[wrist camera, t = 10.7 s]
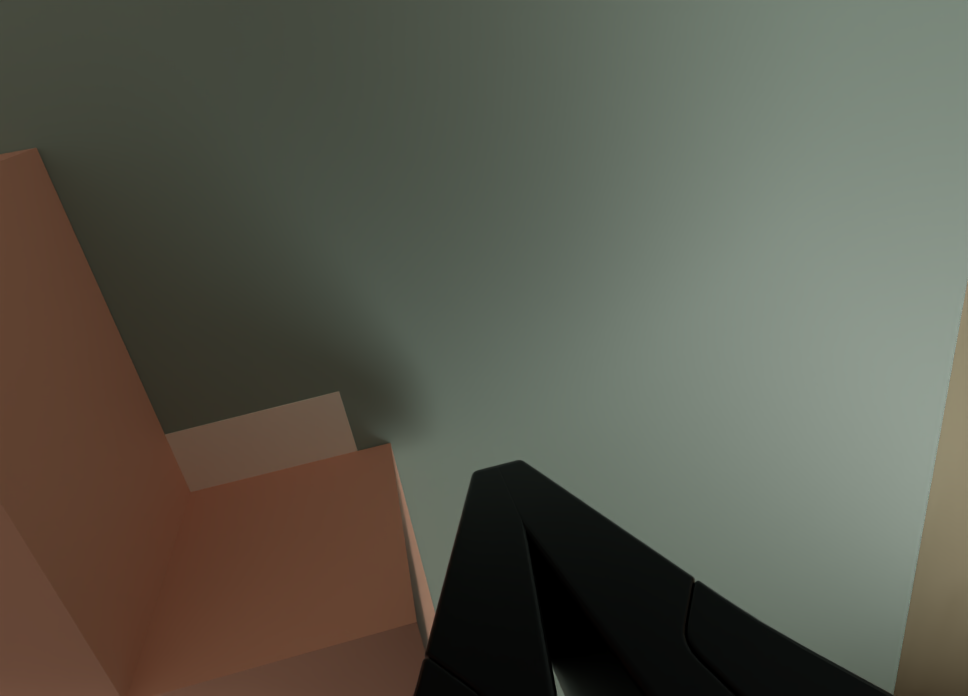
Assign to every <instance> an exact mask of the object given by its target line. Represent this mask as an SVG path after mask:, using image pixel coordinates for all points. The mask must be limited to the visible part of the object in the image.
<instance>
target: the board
mask: <svg viewBox="0 0 968 696" xmlns="http://www.w3.org/2000/svg"><path fill="white" fill-rule="evenodd" d="M32 148H37V150H38V152H39V154H40V156H41V159H42V161H43V163H44V165H45V168H46V170H47V172H48V174H49V177H50V179H51V181H52V183H53V186H54V188H55V190H56V192H57V195H58V197H59V199H60V201H61V203H62V206H63V208H64V210H65V212H66V215H67V217H68V219H69V221H70V224H71V226H72V228H73V230H74V233H75V235H76V237H77V239H78V241H79V244H80V246H81V248H82V250H83V253H84V255H85V257H86V259H87V262H88V264H89V266H90V268H91V271H92V273H93V275H94V277H95V279H96V282H97V284H98V286H99V288H100V291H101V293H102V295H103V297H104V300H105V302H106V304H107V306H108V309H109V311H110V313H111V315H112V317H113V320H114V322H115V324H116V326H117V329H118V331H119V333H120V335H121V338H122V340H123V342H124V344H125V347H126V349H127V351H128V353H129V355H130V358H131V360H132V362H133V364H134V367H135V369H136V371H137V373H138V376H139V378H140V380H141V382H142V385H143V387H144V389H145V391H146V393H147V396H148V398H149V400H150V402H151V405H152V407H153V409H154V411H155V414H156V416H157V418H158V420H159V423H160V425H161V427H162V429H163V432H164V434H165V436H166V438H167V441H168V443H169V445H170V447H171V449H172V452H173V454H174V456H175V458H176V461H177V463H178V465H179V467H180V470H181V472H182V474H183V476H184V479H185V481H186V483H187V485H188V487H189V490H190V492H193V491H197V490H201V489H205V488H209V487H213V486H217V485H222V484H226V483H230V482H234V481H238V480H242V479H246V478H250V477H254V476H258V475H262V474H266V473H270V472H274V471H278V470H282V469H286V468H290V467H294V466H298V465H302V464H307V463H311V462H315V461H319V460H323V459H327V458H331V457H335V456H339V455H343V454H347V453H351V452H355V451H359V450H363V449H367V448H371V447H375V446H379V445H383V444H388V443H391V447H392V450H393V454H394V458H395V462H396V466H397V469H398V473H399V477H400V481H401V485H402V488H403V492H404V496H405V500H406V504H407V507H408V511H409V515H410V519H411V523H412V527H413V530H414V534H415V538H416V542H417V546H418V549H419V553H420V557H421V561H422V565H423V568H424V572H425V576H426V580H427V584H428V587H429V591H430V595H431V599H432V603H433V606H434V610H435V613H436V609H437V605H438V601H439V597H440V594H441V590H442V586H443V582H444V578H445V575H446V571H447V567H448V563H449V560H450V556H451V552H452V548H453V544H454V541H455V537H456V533H457V529H458V525H459V522H460V518H461V514H462V510H463V506H464V503H465V499H466V495H467V491H468V487H469V484H470V480H471V476H472V474H473V472H474V471H476V470H480V469H484V468H488V467H492V466H496V465H500V464H503V463H507V462H511V461H515V460H523V461H525V462H526V463H528V464H529V465H531V466H532V467H533V468H535V469H536V470H538V471H539V472H541V473H542V474H544V475H545V476H547V477H548V478H550V479H551V480H553V481H554V482H555V483H557V484H558V485H560V486H561V487H563V488H564V489H566V490H567V491H569V492H570V493H572V494H573V495H574V496H576V497H577V498H579V499H580V500H582V501H583V502H585V503H586V504H588V505H589V506H591V507H592V508H594V509H595V510H596V511H598V512H599V513H601V514H602V515H604V516H605V517H607V518H608V519H610V520H611V521H613V522H614V523H616V524H617V525H618V526H620V527H621V528H623V529H624V530H626V531H627V532H629V533H630V534H632V535H633V536H635V537H636V538H637V539H639V540H640V541H642V542H643V543H645V544H646V545H648V546H649V547H651V548H652V549H654V550H655V551H657V552H658V553H659V554H661V555H662V556H664V557H665V558H667V559H668V560H670V561H671V562H673V563H674V564H676V565H677V566H678V567H680V568H681V569H683V570H684V571H686V572H687V573H689V574H690V575H692V576H693V577H694V578H695V582H696V581H701V582H702V583H704V584H705V585H707V586H708V587H710V588H711V589H713V590H714V591H716V592H717V593H718V594H720V595H721V596H723V597H724V598H726V599H728V600H729V601H731V602H732V603H734V604H735V605H737V606H738V607H740V608H741V609H743V610H745V611H746V612H748V613H749V614H751V615H752V616H754V617H755V618H757V619H759V620H760V621H762V622H764V623H765V624H767V625H769V626H770V627H772V628H774V629H776V630H777V631H779V632H781V633H783V634H784V635H786V636H788V637H790V638H791V639H793V640H795V641H797V642H798V643H800V644H802V645H803V646H805V647H807V648H809V649H811V650H812V651H814V652H816V653H818V654H820V655H822V656H823V657H825V658H827V659H829V660H831V661H833V662H834V663H836V664H838V665H840V666H842V667H844V668H845V669H847V670H849V671H851V672H853V673H855V674H856V675H858V676H860V677H862V678H864V679H866V680H867V681H869V682H871V683H873V684H875V685H877V686H878V687H880V688H882V689H884V690H886V691H888V692H889V693H891V694H894V688H895V683H896V677H897V672H898V666H899V661H900V655H901V649H902V644H903V638H904V633H905V627H906V621H907V616H908V610H909V605H910V599H911V593H912V588H913V582H914V577H915V571H916V566H917V560H918V554H919V549H920V543H921V538H922V532H923V526H924V521H925V515H926V510H927V504H928V498H929V493H930V487H931V482H932V476H933V471H934V465H935V459H936V454H937V448H938V443H939V437H940V431H941V426H942V420H943V415H944V409H945V404H946V398H947V392H948V387H949V381H950V376H951V370H952V364H953V359H954V353H955V348H956V342H957V336H958V331H959V325H960V320H961V314H962V309H963V303H964V297H965V292H966V286H967V281H968V0H0V154H4V153H10V152H15V151H21V150H26V149H32ZM553 674H554V679H555V685H556V690H557V696H565V695H564V693H563V691H562V688H561V686H560V684H559V681H558V679H557V677H556V675H555V672H554V670H553Z"/></svg>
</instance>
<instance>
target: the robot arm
mask: <svg viewBox="0 0 968 696" xmlns="http://www.w3.org/2000/svg"><path fill="white" fill-rule="evenodd" d="M553 670H554V672H555V675H556V677H557V679H558V681H559V684H560V686H561V688H562V691H563V693H564V695H565V696H895V695H893V694H891V693H889V692H888V691H886V690H884V689H882V688H880V687H878V686H877V685H875V684H873V683H871V682H869V681H867V680H866V679H864V678H862V677H860V676H858V675H856V674H855V673H853V672H851V671H849V670H847V669H845V668H844V667H842V666H840V665H838V664H836V663H834V662H833V661H831V660H829V659H827V658H825V657H823V656H822V655H820V654H818V653H816V652H814V651H812V650H811V649H809V648H807V647H805V646H803V645H802V644H800V643H798V642H797V641H795V640H793V639H791V638H790V637H788V636H786V635H784V634H783V633H781V632H779V631H777V630H776V629H774V628H772V627H770V626H769V625H767V624H765V623H764V622H762V621H760V620H759V619H757V618H755V617H754V616H752V615H751V614H749V613H748V612H746V611H745V610H743V609H741V608H740V607H738V606H737V605H735V604H734V603H732V602H731V601H729V600H728V599H726V598H724V597H723V596H721V595H720V594H718V593H717V592H716V591H714V590H713V589H711V588H710V587H708V586H707V585H705V584H704V583H702V582H701V581H696V582H695V578H694V577H693V576H692V575H690V574H689V573H687V572H686V571H684V570H683V569H681V568H680V567H678V566H677V565H676V564H674V563H673V562H671V561H670V560H668V559H667V558H665V557H664V556H662V555H661V554H659V553H658V552H657V551H655V550H654V549H652V548H651V547H649V546H648V545H646V544H645V543H643V542H642V541H640V540H639V539H637V538H636V537H635V536H633V535H632V534H630V533H629V532H627V531H626V530H624V529H623V528H621V527H620V526H618V525H617V524H616V523H614V522H613V521H611V520H610V519H608V518H607V517H605V516H604V515H602V514H601V513H599V512H598V511H596V510H595V509H594V508H592V507H591V506H589V505H588V504H586V503H585V502H583V501H582V500H580V499H579V498H577V497H576V496H574V495H573V494H572V493H570V492H569V491H567V490H566V489H564V488H563V487H561V486H560V485H558V484H557V483H555V482H554V481H553V480H551V479H550V478H548V477H547V476H545V475H544V474H542V473H541V472H539V471H538V470H536V469H535V468H533V467H532V466H531V465H529V464H528V463H526V462H525V461H523V460H515V461H511V462H507V463H503V464H500V465H496V466H492V467H488V468H484V469H480V470H476V471H474V472H473V474H472V476H471V480H470V484H469V487H468V491H467V495H466V499H465V503H464V506H463V510H462V514H461V518H460V522H459V525H458V529H457V533H456V537H455V541H454V544H453V548H452V552H451V556H450V560H449V563H448V567H447V571H446V575H445V578H444V582H443V586H442V590H441V594H440V597H439V601H438V605H437V609H436V613H435V616H434V620H433V624H432V628H431V632H430V635H429V639H428V643H427V647H426V651H425V659H424V660H423V661H422V665H421V668H420V672H419V676H418V680H417V684H416V687H415V691H414V694H413V696H557V690H556V685H555V679H554V674H553Z"/></svg>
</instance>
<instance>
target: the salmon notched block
mask: <svg viewBox="0 0 968 696" xmlns="http://www.w3.org/2000/svg"><path fill="white" fill-rule="evenodd" d="M434 616H435V610H434V606H433V603H432V599H431V595H430V591H429V587H428V584H427V580H426V576H425V572H424V568H423V565H422V561H421V557H420V553H419V549H418V546H417V542H416V538H415V534H414V530H413V527H412V523H411V519H410V515H409V511H408V507H407V504H406V500H405V496H404V492H403V488H402V485H401V481H400V477H399V473H398V469H397V466H396V462H395V458H394V454H393V450H392V447H391V443H388V444H383V445H379V446H375V447H371V448H367V449H363V450H359V451H355V452H351V453H347V454H343V455H339V456H335V457H331V458H327V459H323V460H319V461H315V462H311V463H307V464H302V465H298V466H294V467H290V468H286V469H282V470H278V471H274V472H270V473H266V474H262V475H258V476H254V477H250V478H246V479H242V480H238V481H234V482H230V483H226V484H222V485H217V486H213V487H209V488H205V489H201V490H197V491H193V492H190V490H189V487H188V485H187V483H186V481H185V479H184V476H183V474H182V472H181V470H180V467H179V465H178V463H177V461H176V458H175V456H174V454H173V452H172V449H171V447H170V445H169V443H168V441H167V438H166V436H165V434H164V432H163V429H162V427H161V425H160V423H159V420H158V418H157V416H156V414H155V411H154V409H153V407H152V405H151V402H150V400H149V398H148V396H147V393H146V391H145V389H144V387H143V385H142V382H141V380H140V378H139V376H138V373H137V371H136V369H135V367H134V364H133V362H132V360H131V358H130V355H129V353H128V351H127V349H126V347H125V344H124V342H123V340H122V338H121V335H120V333H119V331H118V329H117V326H116V324H115V322H114V320H113V317H112V315H111V313H110V311H109V309H108V306H107V304H106V302H105V300H104V297H103V295H102V293H101V291H100V288H99V286H98V284H97V282H96V279H95V277H94V275H93V273H92V271H91V268H90V266H89V264H88V262H87V259H86V257H85V255H84V253H83V250H82V248H81V246H80V244H79V241H78V239H77V237H76V235H75V233H74V230H73V228H72V226H71V224H70V221H69V219H68V217H67V215H66V212H65V210H64V208H63V206H62V203H61V201H60V199H59V197H58V195H57V192H56V190H55V188H54V186H53V183H52V181H51V179H50V177H49V174H48V172H47V170H46V168H45V165H44V163H43V161H42V159H41V156H40V154H39V152H38V150H37V148H32V149H26V150H21V151H15V152H10V153H4V154H0V696H413V694H414V691H415V687H416V684H417V680H418V676H419V672H420V668H421V665H422V661H423V660H424V659H425V651H426V647H427V643H428V639H429V635H430V632H431V628H432V624H433V620H434Z"/></svg>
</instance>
